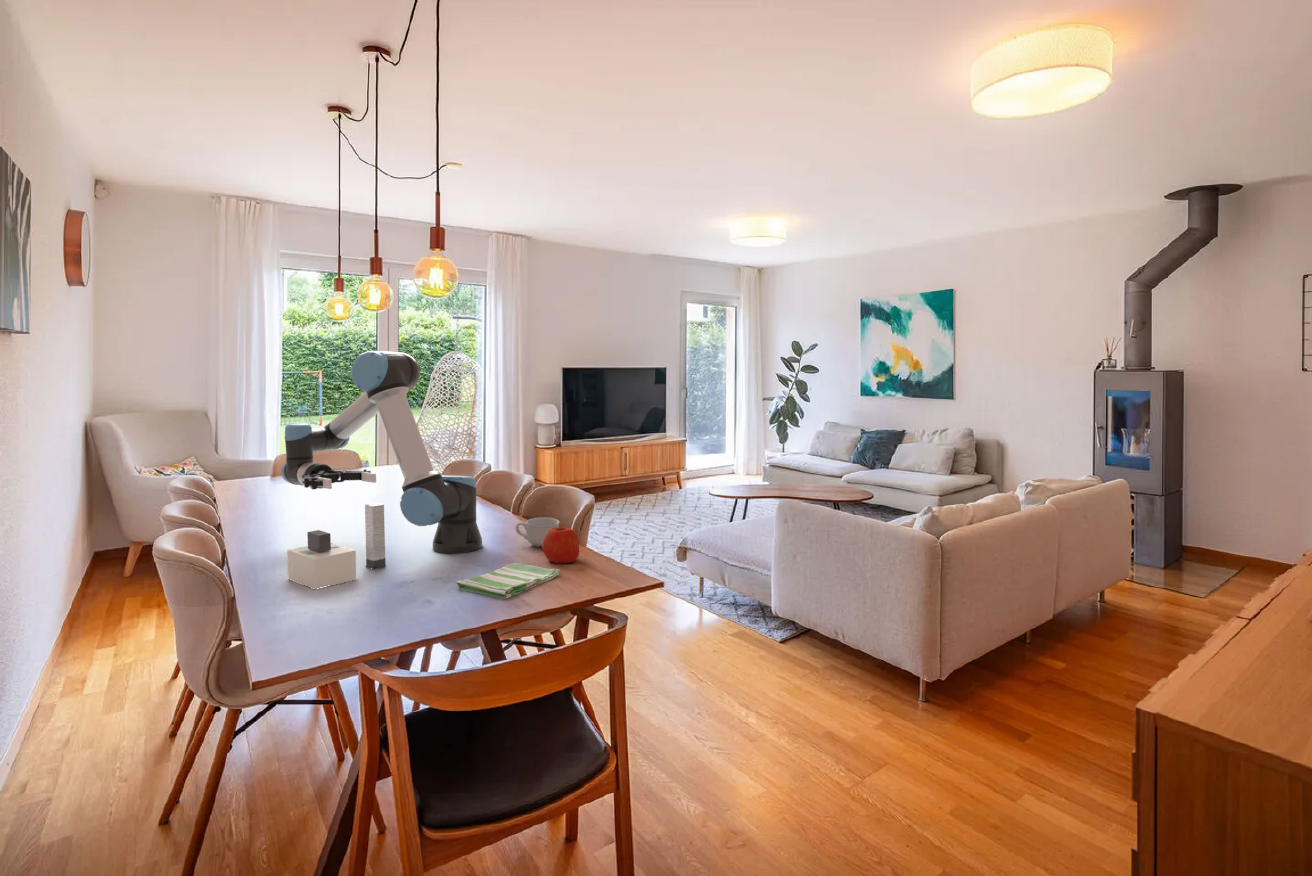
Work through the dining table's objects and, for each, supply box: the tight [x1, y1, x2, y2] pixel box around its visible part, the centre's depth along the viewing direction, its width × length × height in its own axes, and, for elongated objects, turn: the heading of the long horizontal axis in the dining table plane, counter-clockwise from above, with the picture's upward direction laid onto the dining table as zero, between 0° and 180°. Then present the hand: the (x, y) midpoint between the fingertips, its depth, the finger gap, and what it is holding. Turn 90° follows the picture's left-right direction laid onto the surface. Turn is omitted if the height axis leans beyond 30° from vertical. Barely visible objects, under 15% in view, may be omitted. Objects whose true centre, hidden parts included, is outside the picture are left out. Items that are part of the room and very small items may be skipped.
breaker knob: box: [307, 529, 332, 552], centre depth 178 cm, size 3×6×4 cm, turn 54°
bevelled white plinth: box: [287, 542, 357, 590], centre depth 179 cm, size 11×14×8 cm
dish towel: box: [455, 562, 561, 600], centre depth 180 cm, size 18×23×3 cm
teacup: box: [515, 517, 560, 547], centre depth 219 cm, size 14×11×8 cm
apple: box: [541, 526, 580, 565], centre depth 200 cm, size 11×11×11 cm
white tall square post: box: [364, 502, 387, 570], centre depth 191 cm, size 4×4×18 cm
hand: (353, 481), depth 196 cm, fingers open, 13 cm apart
